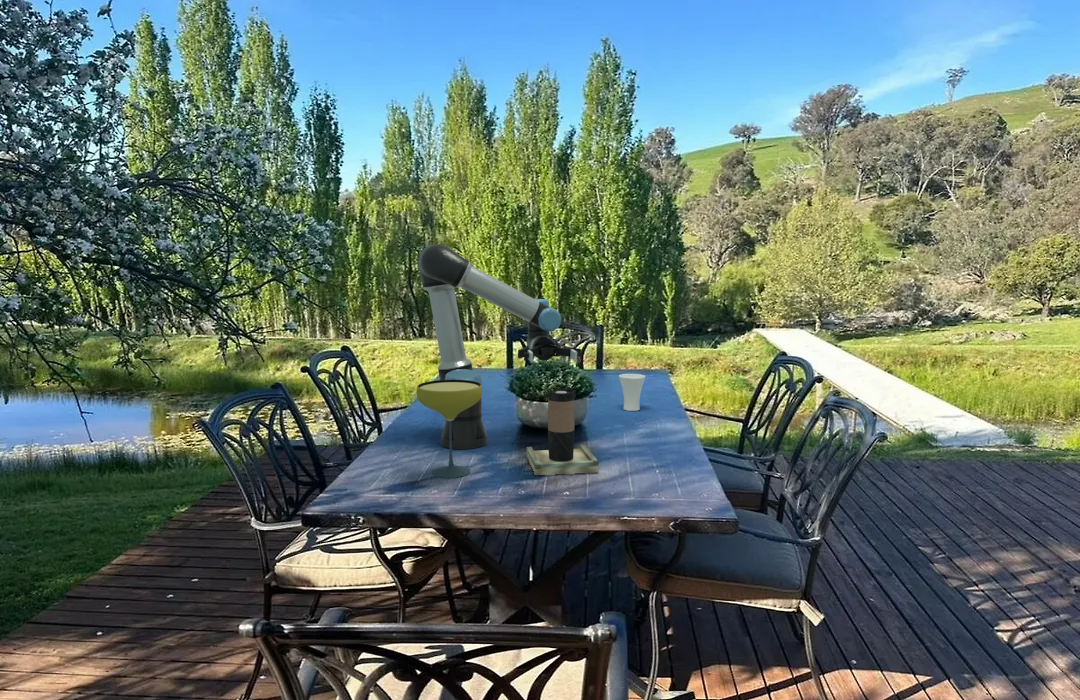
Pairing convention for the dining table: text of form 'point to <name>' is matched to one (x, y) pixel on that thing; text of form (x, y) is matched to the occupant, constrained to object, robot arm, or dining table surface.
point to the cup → (631, 390)
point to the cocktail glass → (449, 410)
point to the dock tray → (579, 463)
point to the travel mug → (561, 424)
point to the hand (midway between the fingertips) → (554, 357)
